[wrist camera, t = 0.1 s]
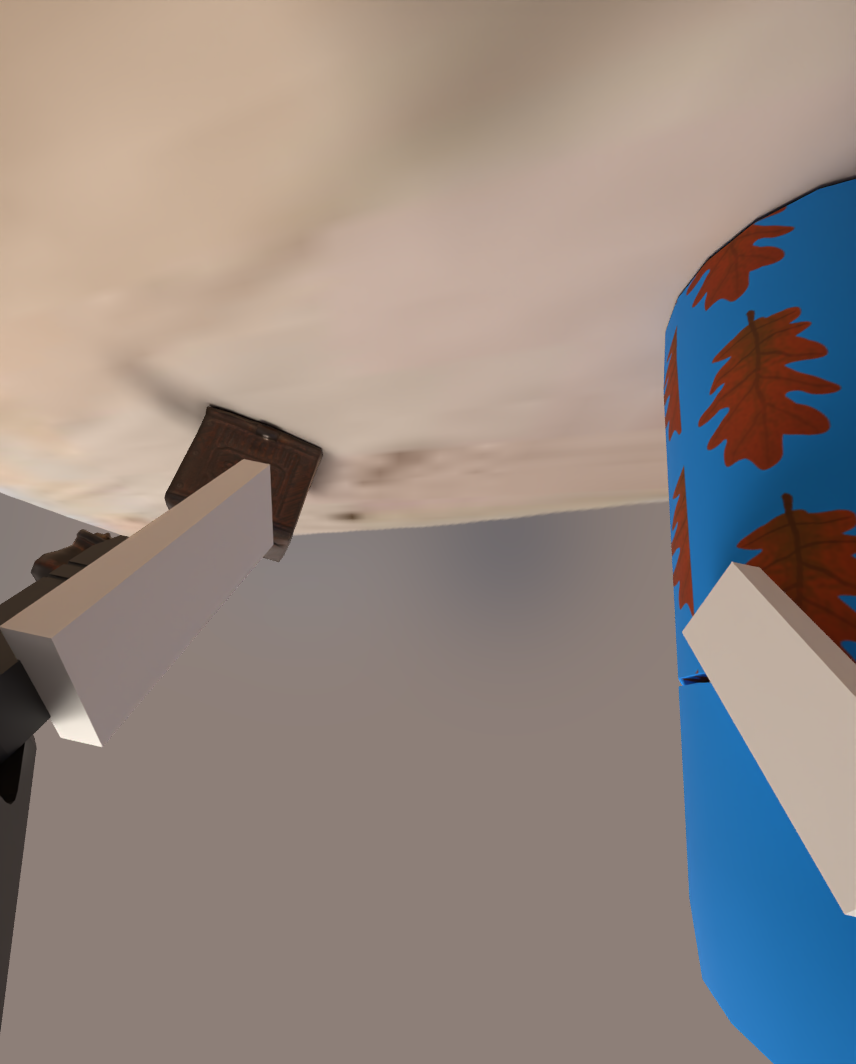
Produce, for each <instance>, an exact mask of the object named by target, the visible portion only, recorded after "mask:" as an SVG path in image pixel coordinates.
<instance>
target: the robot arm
mask: <svg viewBox="0 0 856 1064" xmlns="http://www.w3.org/2000/svg"><path fill="white" fill-rule="evenodd" d="M272 546H273V523H272V501H271V478H270V464H265V463H260V462H255V461H251V460H246V459H243V460H241V461H240V462H238V463H237V464H236V465H234V466H233V467H231V468H230V469H228V470H227V471H225V472H224V473H222V474H221V475H219V476H218V477H217V478H215V479H214V480H212V481H211V482H209V483H208V484H206V485H205V486H203V487H202V488H200V489H199V490H198V491H196V492H195V493H193V494H192V495H190V496H189V497H187V498H186V499H184V500H183V501H182V502H180V503H179V504H177V505H176V506H174V507H173V508H171V509H170V510H168V511H167V512H165V513H164V514H163V515H161V516H160V517H158V518H157V519H155V520H154V521H152V522H151V523H149V524H148V525H147V526H145V527H144V528H142V529H141V530H139V531H138V532H136V533H135V534H133V535H132V536H130V537H127V536H122V535H120V536H117V537H114V538H112V539H109V540H106V541H104V542H101V543H98V544H96V545H93V546H91V547H89V548H88V549H86V550H85V551H83V552H82V553H80V554H78V555H77V556H75V557H74V558H72V559H71V560H69V561H68V564H67V565H66V564H63V565H61V566H60V567H58V568H57V569H55V570H53V571H52V572H50V573H49V575H48V577H47V578H46V577H43V578H41V579H39V580H38V581H36V582H35V583H33V584H32V585H30V586H29V587H27V588H25V589H24V590H22V591H21V592H19V593H18V594H16V595H15V596H13V597H11V598H10V599H8V600H7V601H5V602H4V603H2V604H1V605H0V1030H1V1022H2V1014H3V1007H4V999H5V991H6V982H7V974H8V967H9V960H10V952H11V944H12V936H13V928H14V920H15V912H16V904H17V897H18V889H19V880H20V873H21V865H22V858H23V850H24V842H25V834H26V826H27V818H28V810H29V803H30V795H31V787H32V778H33V770H34V763H35V756H36V743H35V738H34V736H33V734H34V733H35V732H36V731H37V730H38V729H39V728H40V727H41V726H42V725H43V724H44V723H45V722H46V721H47V720H48V719H49V718H50V719H51V721H52V723H53V725H54V726H55V728H56V730H57V732H58V733H59V735H60V737H61V738H65V739H69V740H73V741H78V742H82V743H87V744H91V745H95V746H100V747H103V746H104V745H105V744H106V742H107V741H108V740H109V739H110V738H111V737H112V735H113V734H114V733H115V732H116V731H117V729H118V728H119V727H120V726H121V725H122V723H123V722H124V721H125V720H126V719H127V718H128V716H129V715H130V714H131V713H132V712H133V710H134V709H135V708H136V707H137V706H138V705H139V703H140V702H141V701H142V700H143V698H144V697H145V696H146V695H147V694H148V693H149V691H150V690H151V689H152V688H153V687H154V685H155V684H156V683H157V682H158V681H159V680H160V678H161V677H162V676H163V675H164V674H165V672H166V671H167V670H168V669H169V667H170V666H171V665H172V664H173V663H174V662H175V661H176V660H177V658H178V657H179V656H180V655H181V654H182V652H183V651H184V650H185V649H186V648H187V646H188V645H189V644H190V643H191V642H192V640H193V639H194V638H195V637H196V636H197V635H198V633H199V632H200V631H201V630H202V628H203V627H204V626H205V625H206V624H207V623H208V622H209V620H210V619H211V618H212V617H213V616H214V615H215V613H216V612H217V611H218V610H219V609H220V607H221V606H222V605H223V604H224V603H225V601H226V600H227V599H228V598H229V597H230V596H231V594H232V593H233V592H234V591H235V590H236V588H237V587H238V586H239V585H240V584H241V582H242V581H243V580H244V579H245V578H246V577H247V575H248V574H249V573H250V572H251V571H252V569H253V568H254V567H255V566H256V565H257V563H258V562H259V561H260V560H261V559H262V558H263V556H264V555H265V554H266V553H267V552H268V551H269V549H270V548H271V547H272ZM682 633H683V635H684V637H685V638H686V640H687V642H688V644H689V645H690V647H691V649H692V651H693V652H694V654H695V656H696V658H697V659H698V661H699V663H700V665H701V666H702V668H703V670H704V671H705V673H706V675H707V677H708V678H709V680H710V682H711V684H712V685H713V687H714V689H715V691H716V692H717V694H718V696H719V697H720V699H721V701H722V703H723V704H724V706H725V708H726V710H727V711H728V713H729V715H730V717H731V718H732V720H733V722H734V723H735V725H736V727H737V729H738V730H739V732H740V734H741V736H742V737H743V739H744V741H745V743H746V744H747V746H748V748H749V750H750V751H751V753H752V755H753V756H754V758H755V760H756V762H757V763H758V765H759V767H760V769H761V770H762V772H763V774H764V776H765V777H766V779H767V781H768V782H769V784H770V786H771V788H772V789H773V791H774V793H775V795H776V796H777V798H778V800H779V802H780V803H781V805H782V807H783V809H784V810H785V812H786V814H787V815H788V817H789V819H790V821H791V822H792V824H793V826H794V828H795V829H796V831H797V833H798V835H799V836H800V838H801V840H802V841H803V843H804V845H805V847H806V848H807V850H808V852H809V854H810V855H811V857H812V859H813V861H814V862H815V864H816V866H817V867H818V869H819V871H820V873H821V874H822V876H823V878H824V880H825V881H826V883H827V885H828V887H829V888H830V890H831V892H832V894H833V895H834V897H835V899H836V900H837V902H838V904H839V906H840V907H841V909H842V911H843V913H844V914H845V915H849V916H854V917H856V664H855V663H854V662H853V661H852V660H851V659H850V658H849V657H848V656H847V655H846V654H845V653H844V652H843V651H842V650H841V649H840V648H839V647H838V646H837V645H836V644H835V643H834V642H833V641H832V640H831V639H830V638H829V637H828V636H827V635H826V634H825V633H824V632H823V631H822V630H821V629H820V628H819V627H818V626H817V625H816V624H815V623H814V622H813V621H812V620H811V619H810V618H809V617H808V616H807V615H806V614H805V613H804V612H803V611H802V610H801V609H800V608H799V607H798V606H797V605H796V604H795V603H794V602H793V601H792V600H791V599H790V598H789V597H788V596H787V595H786V594H785V593H784V592H783V591H782V590H781V589H780V588H779V587H778V586H777V585H776V584H775V583H774V582H773V581H772V580H771V579H770V578H769V577H768V576H767V575H766V574H765V573H764V572H763V571H762V569H761V568H759V567H755V566H750V565H745V564H740V563H735V562H731V564H730V565H729V567H728V568H727V569H726V571H725V572H724V574H723V575H722V576H721V578H720V579H719V581H718V582H717V583H716V585H715V586H714V588H713V589H712V590H711V592H710V593H709V595H708V596H707V598H706V599H705V600H704V602H703V603H702V605H701V606H700V607H699V609H698V610H697V612H696V613H695V614H694V616H693V617H692V619H691V620H690V621H689V623H688V624H687V626H686V627H685V628H684V630H683V631H682Z"/></svg>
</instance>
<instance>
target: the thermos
mask: <svg viewBox="0 0 856 1064" xmlns="http://www.w3.org/2000/svg"><path fill="white" fill-rule="evenodd" d="M664 406H665V426H666V446H667V465H668V485H669V504H670V524H671V544H672V564H673V583H674V601H675V623H676V642H677V660H678V678H679V680H680V682H681V684H682V685H683V686H679V701H680V719H681V739H682V740H681V741H682V760H683V780H684V798H685V819H686V839H687V857H688V858H687V859H688V878H689V897H690V904H691V910H692V916H693V923H694V928H695V935H696V941H697V947H698V954H699V960H700V966H701V972H702V978H703V981H704V982H705V984H706V985H707V987H708V988H709V990H710V991H711V993H712V994H713V996H714V997H715V999H716V1000H717V1001H718V1003H719V1005H720V1006H721V1008H722V1009H723V1011H724V1012H725V1014H726V1016H727V1017H728V1019H729V1020H730V1022H731V1023H732V1024H733V1025H734V1026H735V1027H736V1028H737V1029H738V1030H739V1031H740V1032H741V1033H742V1034H743V1035H744V1036H745V1037H746V1038H747V1039H748V1040H749V1041H751V1042H752V1043H753V1044H754V1045H755V1046H756V1047H757V1048H758V1049H759V1050H760V1051H761V1052H762V1053H763V1054H764V1055H765V1056H766V1057H767V1058H768V1059H769V1060H770V1061H771V1062H773V1063H774V1064H856V917H854V916H849V915H845V914H844V913H843V911H842V909H841V907H840V906H839V904H838V902H837V900H836V899H835V897H834V895H833V894H832V892H831V890H830V888H829V887H828V885H827V883H826V881H825V880H824V878H823V876H822V874H821V873H820V871H819V869H818V867H817V866H816V864H815V862H814V861H813V859H812V857H811V855H810V854H809V852H808V850H807V848H806V847H805V845H804V843H803V841H802V840H801V838H800V836H799V835H798V833H797V831H796V829H795V828H794V826H793V824H792V822H791V821H790V819H789V817H788V815H787V814H786V812H785V810H784V809H783V807H782V805H781V803H780V802H779V800H778V798H777V796H776V795H775V793H774V791H773V789H772V788H771V786H770V784H769V782H768V781H767V779H766V777H765V776H764V774H763V772H762V770H761V769H760V767H759V765H758V763H757V762H756V760H755V758H754V756H753V755H752V753H751V751H750V750H749V748H748V746H747V744H746V743H745V741H744V739H743V737H742V736H741V734H740V732H739V730H738V729H737V727H736V725H735V723H734V722H733V720H732V718H731V717H730V715H729V713H728V711H727V710H726V708H725V706H724V704H723V703H722V701H721V699H720V697H719V696H718V694H717V692H716V691H715V689H714V687H713V685H712V684H711V682H710V680H709V678H708V677H707V675H706V673H705V671H704V670H703V668H702V666H701V665H700V663H699V661H698V659H697V658H696V656H695V654H694V652H693V651H692V649H691V647H690V645H689V644H688V642H687V640H686V638H685V637H684V635H683V633H682V631H683V630H684V628H685V627H686V626H687V624H688V623H689V621H690V620H691V619H692V617H693V616H694V614H695V613H696V612H697V610H698V609H699V607H700V606H701V605H702V603H703V602H704V600H705V599H706V598H707V596H708V595H709V593H710V592H711V590H712V589H713V588H714V586H715V585H716V583H717V582H718V581H719V579H720V578H721V576H722V575H723V574H724V572H725V571H726V569H727V568H728V567H729V565H730V564H731V562H735V563H740V564H745V565H750V566H755V567H759V568H761V569H762V571H763V572H764V573H765V574H766V575H767V576H768V577H769V578H770V579H771V580H772V581H773V582H774V583H775V584H776V585H777V586H778V587H779V588H780V589H781V590H782V591H783V592H784V593H785V594H786V595H787V596H788V597H789V598H790V599H791V600H792V601H793V602H794V603H795V604H796V605H797V606H798V607H799V608H800V609H801V610H802V611H803V612H804V613H805V614H806V615H807V616H808V617H809V618H810V619H811V620H812V621H813V622H814V623H815V624H816V625H817V626H818V627H819V628H820V629H821V630H822V631H823V632H824V633H825V634H826V635H827V636H828V637H829V638H830V639H831V640H832V641H833V642H834V643H835V644H836V645H837V646H838V647H839V648H840V649H841V650H842V651H843V652H844V653H845V654H846V655H847V656H848V657H849V658H850V659H851V660H852V661H853V662H854V663H855V664H856V179H854V180H850V181H846V182H843V183H839V184H835V185H832V186H828V187H825V188H821V189H818V190H816V191H814V192H812V193H810V194H808V195H807V196H805V197H803V198H801V199H799V200H797V201H795V202H793V203H791V204H789V205H787V206H786V207H784V208H782V209H780V210H778V211H776V212H774V213H772V214H770V215H768V216H766V217H764V218H763V219H761V220H759V221H757V222H755V223H754V224H752V225H751V226H750V227H749V228H747V229H746V230H745V231H744V232H742V233H741V234H740V235H739V236H738V237H736V238H735V239H734V240H733V241H731V242H730V243H729V244H728V245H726V246H725V247H724V248H723V249H721V250H720V251H719V252H718V253H717V254H715V255H714V256H713V257H712V258H710V259H709V260H708V261H707V262H706V263H705V264H704V265H703V267H702V268H701V269H700V271H699V272H698V273H697V275H696V276H695V277H694V278H693V280H692V281H691V282H690V284H689V285H688V286H687V287H686V289H685V290H684V291H683V293H682V294H681V295H680V296H679V298H678V299H677V301H676V304H675V307H674V310H673V313H672V315H671V318H670V321H669V324H668V327H667V329H666V334H665V366H664Z"/></svg>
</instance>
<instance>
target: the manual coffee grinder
mask: <svg viewBox="0 0 856 1064" xmlns="http://www.w3.org/2000/svg"><path fill="white" fill-rule="evenodd" d="M322 455H323V454H322V450H321V448H318V447H316V446H314V445H311V444H309V443H307V442H305V441H302V440H300V439H298V438H295V437H293V436H291V435H289V434H286V433H284V432H282V431H279V430H277V429H275V428H272V427H270V426H267V425H265V424H262V423H259V422H255V421H252V420H249V419H247V418H244V417H241V416H239V415H236V414H233V413H231V412H227V411H223V410H220V409H216V408H213V407H209V406H208V407H207V409H206V415H205V417H204V419H203V421H202V424H201V426H200V428H199V430H198V433H197V434H196V436H195V438H194V440H193V442H192V444H191V446H190V448H189V450H188V451H187V453H186V455H185V457H184V459H183V461H182V463H181V465H180V467H179V469H178V471H177V473H176V475H175V476H174V478H173V480H172V482H171V484H170V486H169V488H168V490H167V491H166V494H165V501H166V505H167V507H168V509H169V510H170V509H171V508H173V507H174V506H176V505H177V504H179V503H180V502H182V501H183V500H184V499H186V498H187V497H189V496H190V495H192V494H193V493H195V492H196V491H198V490H199V489H200V488H202V487H203V486H205V485H206V484H208V483H209V482H211V481H212V480H214V479H215V478H217V477H218V476H219V475H221V474H222V473H224V472H225V471H227V470H228V469H230V468H231V467H233V466H234V465H236V464H237V463H238V462H240V461H241V460H243V459H246V460H251V461H255V462H260V463H265V464H270V478H271V501H272V523H273V546H272V547H271V548H270V549H269V551H268V552H267V553H266V554H265V555H264V556H263V558H266V559H270V560H273V561H276V562H279V561H280V560H281V559H282V557H283V556H284V554H285V552H286V550H287V548H288V546H289V544H290V541H291V539H292V536H293V532H294V529H295V527H296V524H297V522H298V519H299V516H300V513H301V510H302V507H303V504H304V501H305V498H306V496H307V493H308V490H309V488H310V487H311V484H312V481H313V477H314V475H315V473H316V470H317V468H318V466H319V463H320V461H321V458H322ZM109 539H112V538H111V536H110V533H106V534H101V533H95V534H92V533H90V532H88V531H86V530H84V529H82V530H80V531H79V532H78V533H77V538H76V539H75V541H74V543H73V544H72V545H71V546H68V547H66V548H63V549H61V550H58V551H54V552H50V553H46V554H44V555H42V556H41V557H40V558H39V559H37V560H36V561H35V563H34V565H33V568H32V570H31V573H32V575H33V577H34V578H35V580H36V581H38V580H39V579H41V578H43V577H46V578H47V577H48V575H49V573H50V572H52V571H53V570H55V569H57V568H58V567H60V566H61V565H63V564H66V565H67V564H68V561H69V560H71V559H72V558H74V557H75V556H77V555H78V554H80V553H82V552H83V551H85V550H86V549H88V548H89V547H91V546H93V545H96V544H98V543H101V542H104V541H106V540H109Z"/></svg>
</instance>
